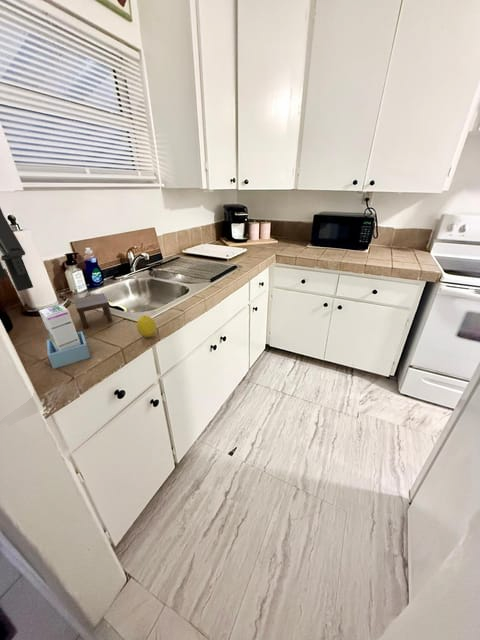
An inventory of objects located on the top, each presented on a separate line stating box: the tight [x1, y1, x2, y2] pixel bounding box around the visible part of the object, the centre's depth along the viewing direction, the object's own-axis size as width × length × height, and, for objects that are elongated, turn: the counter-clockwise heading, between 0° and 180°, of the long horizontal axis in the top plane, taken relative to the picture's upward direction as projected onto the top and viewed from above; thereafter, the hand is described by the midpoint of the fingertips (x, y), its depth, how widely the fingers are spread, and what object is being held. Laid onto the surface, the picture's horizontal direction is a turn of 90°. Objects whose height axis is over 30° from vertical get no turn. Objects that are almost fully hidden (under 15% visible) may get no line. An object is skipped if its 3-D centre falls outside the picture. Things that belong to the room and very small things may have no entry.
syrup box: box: [38, 304, 81, 352], centre depth 73 cm, size 6×6×14 cm
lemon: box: [136, 314, 156, 338], centre depth 84 cm, size 6×6×8 cm
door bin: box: [46, 331, 91, 370], centre depth 76 cm, size 9×9×4 cm
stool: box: [73, 292, 114, 330], centre depth 94 cm, size 10×10×8 cm
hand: (11, 283), depth 58 cm, fingers open, 13 cm apart
